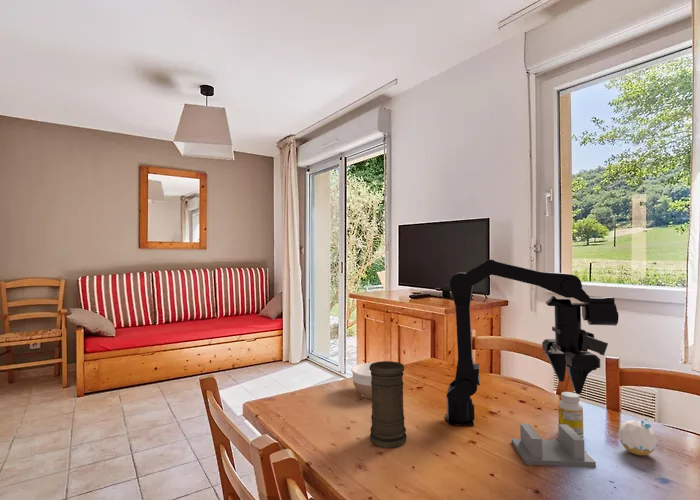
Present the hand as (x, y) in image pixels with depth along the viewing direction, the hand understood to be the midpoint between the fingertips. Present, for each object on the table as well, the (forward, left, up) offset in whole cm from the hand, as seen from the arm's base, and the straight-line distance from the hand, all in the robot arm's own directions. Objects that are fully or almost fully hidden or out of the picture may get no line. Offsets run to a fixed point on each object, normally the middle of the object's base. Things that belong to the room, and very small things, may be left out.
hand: (569, 387), depth 99 cm
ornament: (+10, -10, -12) cm, 18 cm away
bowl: (-49, +27, -12) cm, 57 cm away
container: (-45, -6, -12) cm, 47 cm away
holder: (-9, -11, -11) cm, 18 cm away
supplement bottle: (0, 0, -12) cm, 12 cm away
